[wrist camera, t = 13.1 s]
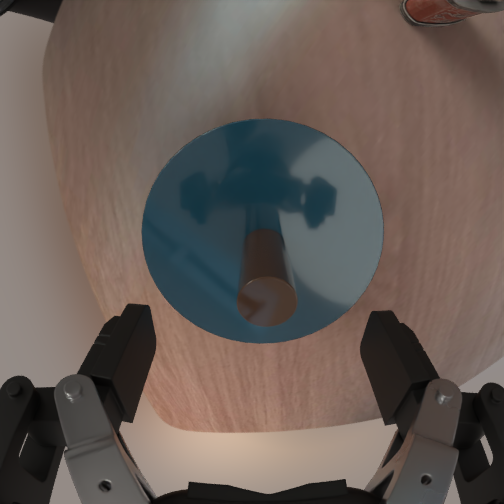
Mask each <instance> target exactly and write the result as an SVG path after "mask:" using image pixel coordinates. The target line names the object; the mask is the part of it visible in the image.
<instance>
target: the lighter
mask: <svg viewBox="0 0 504 504" xmlns="http://www.w3.org/2000/svg"><path fill="white" fill-rule="evenodd" d="M399 7H400V12H401V15H402V16H403V18H404V19H405V20H406V21H407V22H408V23H410V24H411V25H414V26H422V27H443V26H448V25H453V24H456V23H458V22H461V21H464V20H466V19H467V18H468V17H471V16H474V15H478V14H481V13H492V12H499V11H502V10H504V0H405V1H403V2H402V3H400V6H399Z"/></svg>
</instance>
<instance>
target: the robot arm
mask: <svg viewBox="0 0 504 504" xmlns="http://www.w3.org/2000/svg"><path fill="white" fill-rule="evenodd" d="M2 1H4V0H0V3H1V2H2ZM155 351H156V335H155V330H154V326H153V320H152V315H151V310H150V307H149V306H148V305H141V304H127V306H126V307H125V309H124V311H123V313H122V314H121V316H114V317H113V318H111V319H110V320H109V321H108V322H107V323H105V324H104V326H103V328H102V330H101V331H100V333H99V336H98V337H97V338H96V340H95V342H94V344H93V345H92V347H91V349H90V351H89V352H88V354H87V356H86V358H85V360H84V362H83V363H82V365H81V367H80V369H79V371H78V373H77V374H75V375H70V376H67V377H65V378H63V379H62V380H61V381H60V382H59V383H58V384H57V386H56V387H46V388H45V387H44V388H35V387H34V385H33V384H32V382H31V381H30V380H29V379H28V378H27V377H24V376H15V377H12V378H10V379H8V380H7V381H6V382H5V383H4V384H3V385H2V387H1V389H0V504H49V502H50V497H51V493H52V490H53V486H54V482H55V479H56V475H57V471H58V468H59V465H60V461H61V458H62V455H63V451H64V448H65V446H67V447H68V450H65V451H64V457H65V460H66V464H67V466H68V469H69V472H70V475H71V478H72V480H73V483H74V486H75V488H76V490H77V493H78V496H79V498H80V500H81V503H82V504H444V502H445V499H446V496H447V493H448V490H449V487H450V484H451V481H452V477H453V475H454V479H455V482H456V486H457V490H458V493H459V497H460V501H461V504H504V388H503V387H502V386H500V385H498V384H496V383H487V384H485V385H484V386H483V387H482V388H481V390H480V391H479V392H478V393H466V392H461V391H460V389H459V388H458V387H457V386H456V385H455V384H454V383H453V382H451V381H449V380H447V379H442V378H441V379H440V377H439V375H438V374H437V372H436V370H435V368H434V366H433V365H432V363H431V361H430V359H429V358H428V356H427V354H426V352H425V351H423V347H422V345H421V344H420V343H419V340H418V339H417V337H416V335H415V334H414V332H413V331H412V330H411V329H410V328H409V327H407V326H406V325H405V324H404V323H400V322H399V321H398V319H397V317H396V316H395V314H394V312H393V311H391V310H388V311H372V312H371V314H370V316H369V319H368V322H367V326H366V329H365V332H364V335H363V338H362V341H361V345H360V354H361V358H362V361H363V364H364V367H365V369H366V372H367V375H368V378H369V380H370V383H371V386H372V389H373V392H374V394H375V397H376V400H377V403H378V406H379V409H380V412H381V415H382V418H383V421H384V424H385V425H391V424H397V427H398V429H397V431H396V432H395V434H394V437H393V439H392V441H391V443H390V445H389V447H388V450H387V452H386V454H385V456H384V458H383V460H382V462H381V464H380V466H379V468H378V470H377V472H376V474H375V475H374V477H373V478H372V479H371V481H370V482H369V483H368V485H367V486H366V488H365V489H364V490H361V489H357V488H352V487H347V485H346V480H345V479H342V480H336V481H328V482H319V483H309V484H306V485H303V486H299V487H296V488H292V489H289V490H285V491H281V492H278V493H273V494H264V493H259V492H254V491H250V490H246V489H242V488H237V487H233V486H230V485H220V484H207V483H197V482H189V485H188V489H186V490H179V491H174V492H171V493H167V494H164V495H162V496H160V497H157V496H156V495H155V493H154V492H153V490H152V488H151V487H150V485H149V484H148V482H147V481H146V479H145V478H144V476H143V475H142V473H141V471H140V470H139V468H138V466H137V464H136V462H135V460H134V458H133V457H132V455H131V453H130V451H129V449H128V447H127V445H126V443H125V441H124V439H123V437H122V435H121V433H120V431H119V428H120V425H121V422H122V421H124V422H129V423H133V420H134V416H135V413H136V410H137V407H138V403H139V400H140V397H141V394H142V391H143V388H144V385H145V382H146V379H147V376H148V372H149V370H150V367H151V364H152V361H153V358H154V355H155ZM27 433H28V436H27V439H26V441H25V444H24V446H23V449H22V452H21V455H20V457H19V453H20V450H21V448H22V445H23V442H24V439H25V437H26V435H27ZM484 435H485V436H486V438H487V440H488V443H489V446H490V448H491V451H492V454H493V462H492V464H491V466H490V465H489V462H488V459H487V456H486V454H485V451H484V448H483V446H482V443H481V441H480V439H481V438H482V437H483V436H484Z"/></svg>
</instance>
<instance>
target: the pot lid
mask: <svg viewBox="0 0 504 504" xmlns="http://www.w3.org/2000/svg"><path fill="white" fill-rule="evenodd" d="M383 239H384V222H383V215H382V208H381V205H380V201H379V198H378V194H377V192H376V190H375V187H374V185H373V183H372V181H371V179H370V177H369V176H368V174H367V173H366V171H365V170H364V168H363V167H362V165H361V164H360V163H359V162H358V161H357V159H356V158H355V157H354V156H353V155H352V154H351V153H350V152H349V151H348V150H347V149H345V148H344V147H343V146H342V145H341V144H339V143H338V142H337V141H335V140H334V139H332V138H330V137H329V136H327V135H326V134H324V133H322V132H320V131H317V130H315V129H313V128H311V127H308V126H306V125H302V124H298V123H295V122H291V121H286V120H277V119H249V120H243V121H237V122H232V123H229V124H226V125H223V126H220V127H217V128H214V129H212V130H210V131H208V132H206V133H204V134H202V135H200V136H198V137H197V138H195V139H194V140H192V141H191V142H189V143H188V144H186V145H185V146H184V147H183V148H182V149H180V150H179V151H178V152H177V153H176V154H175V155H174V156H173V157H172V158H171V159H170V160H169V162H168V163H167V164H166V165H165V167H164V168H163V169H162V170H161V172H160V173H159V175H158V177H157V179H156V180H155V182H154V184H153V186H152V188H151V190H150V193H149V195H148V198H147V201H146V205H145V209H144V213H143V221H142V244H143V250H144V255H145V260H146V263H147V266H148V269H149V272H150V274H151V276H152V278H153V280H154V282H155V284H156V286H157V287H158V289H159V290H160V292H161V293H162V295H163V296H164V298H165V299H166V300H167V301H168V302H169V303H170V304H171V306H172V307H173V308H174V309H175V310H177V311H178V312H179V313H180V314H181V315H182V316H183V317H185V318H186V319H187V320H189V321H190V322H192V323H193V324H194V325H196V326H198V327H200V328H202V329H204V330H205V331H207V332H210V333H212V334H215V335H217V336H220V337H223V338H227V339H230V340H234V341H240V342H245V343H259V344H260V343H277V342H285V341H289V340H294V339H298V338H301V337H304V336H307V335H309V334H312V333H314V332H316V331H318V330H320V329H322V328H324V327H326V326H328V325H329V324H331V323H332V322H334V321H336V320H337V319H338V318H340V317H341V316H342V315H343V314H345V313H346V312H347V311H348V310H349V309H350V308H351V307H352V306H353V305H354V304H355V303H356V302H357V301H358V299H359V298H360V297H361V295H362V294H363V293H364V292H365V290H366V288H367V287H368V285H369V283H370V282H371V280H372V278H373V276H374V273H375V271H376V269H377V267H378V263H379V260H380V256H381V253H382V246H383Z"/></svg>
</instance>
